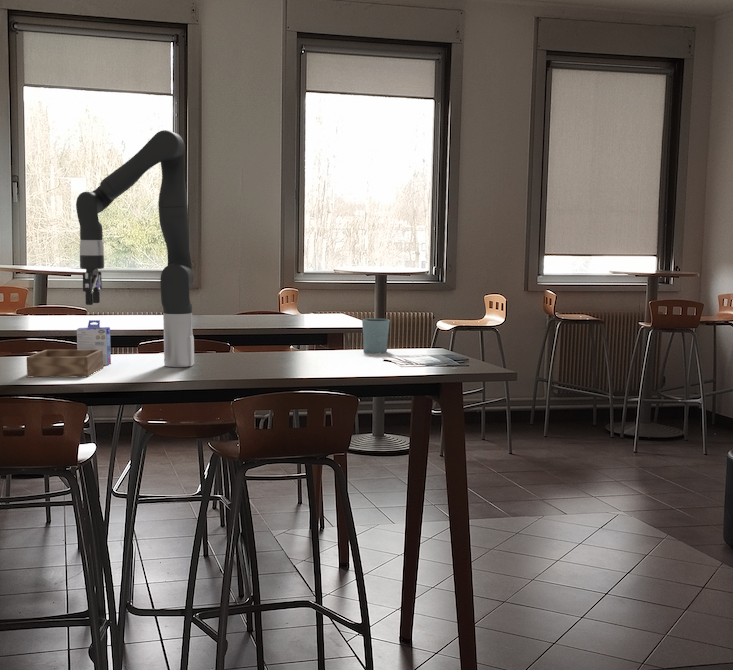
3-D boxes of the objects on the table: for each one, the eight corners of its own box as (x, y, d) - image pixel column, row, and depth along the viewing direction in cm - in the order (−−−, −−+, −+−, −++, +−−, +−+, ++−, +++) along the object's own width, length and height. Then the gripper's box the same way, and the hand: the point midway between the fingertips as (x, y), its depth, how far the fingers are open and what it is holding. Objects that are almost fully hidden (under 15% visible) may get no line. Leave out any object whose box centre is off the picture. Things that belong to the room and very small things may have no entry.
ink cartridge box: (111, 363, 303) (110, 319, 302) (108, 365, 298) (106, 321, 296) (81, 363, 303) (80, 320, 301) (77, 365, 297) (75, 321, 296)
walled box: (103, 368, 292) (102, 349, 291) (88, 377, 274) (87, 357, 273) (46, 368, 291) (45, 349, 290) (27, 377, 273) (26, 357, 272)
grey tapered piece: (368, 349, 342) (368, 317, 341) (393, 351, 338) (393, 318, 337) (357, 352, 332) (357, 320, 331) (383, 354, 329) (384, 321, 328)
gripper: (97, 254, 289) (98, 305, 291) (108, 253, 304) (109, 302, 305) (73, 254, 289) (75, 305, 291) (86, 253, 303) (87, 302, 305)
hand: (92, 303), depth 298 cm, fingers open, 8 cm apart
